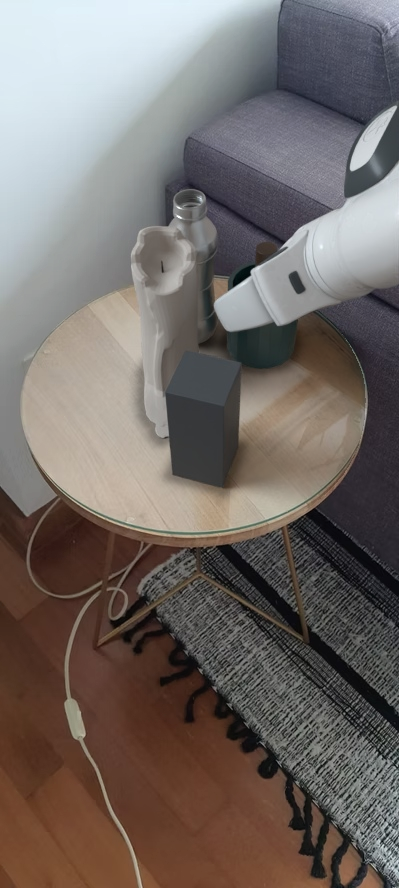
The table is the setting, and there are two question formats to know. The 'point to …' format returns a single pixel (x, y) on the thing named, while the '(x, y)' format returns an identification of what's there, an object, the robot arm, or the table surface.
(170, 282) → the candle
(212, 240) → the silver metal bottle
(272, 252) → the rod with orange collar
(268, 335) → the teal cup
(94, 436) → the table surface
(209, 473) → the stand
